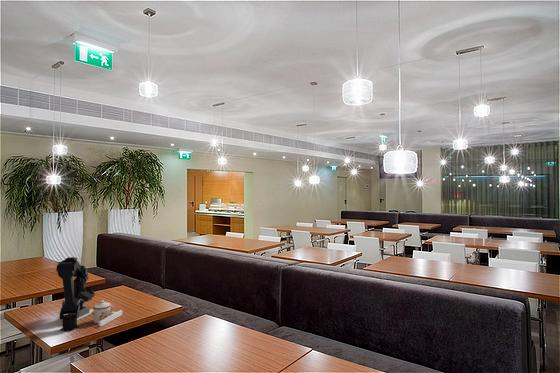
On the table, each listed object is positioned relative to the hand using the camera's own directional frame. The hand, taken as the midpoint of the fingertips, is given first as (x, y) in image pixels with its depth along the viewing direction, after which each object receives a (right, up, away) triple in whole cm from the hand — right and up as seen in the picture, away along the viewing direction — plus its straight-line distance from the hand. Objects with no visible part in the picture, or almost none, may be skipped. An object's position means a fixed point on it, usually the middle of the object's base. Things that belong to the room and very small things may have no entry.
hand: (78, 313), depth 200 cm
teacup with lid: (+17, -3, -3) cm, 18 cm away
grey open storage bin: (+10, -2, -2) cm, 10 cm away
